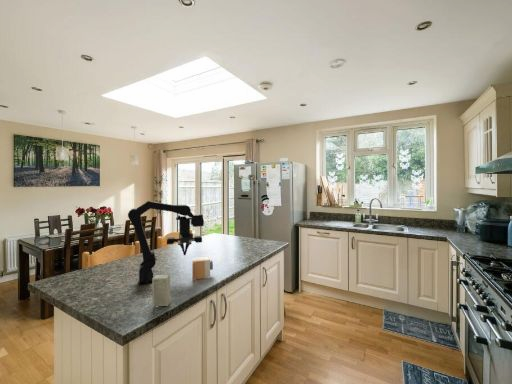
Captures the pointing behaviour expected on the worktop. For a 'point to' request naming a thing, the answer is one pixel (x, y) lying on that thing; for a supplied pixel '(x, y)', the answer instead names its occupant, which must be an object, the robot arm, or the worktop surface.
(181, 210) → the robot arm
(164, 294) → the skincare box
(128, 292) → the worktop surface
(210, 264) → the block
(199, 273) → the orange l-shaped block
